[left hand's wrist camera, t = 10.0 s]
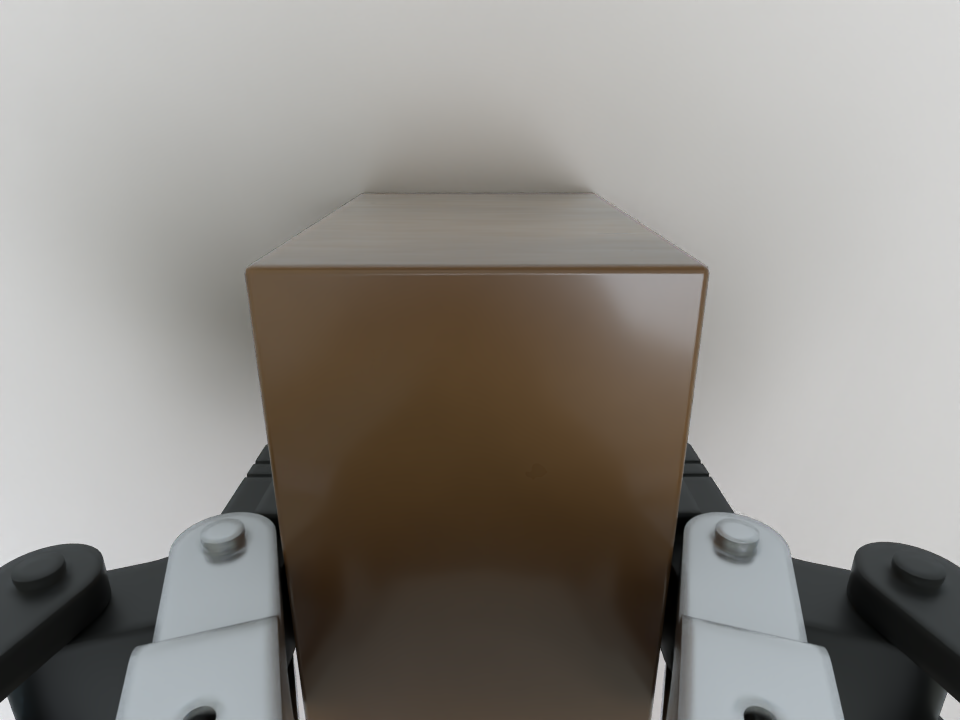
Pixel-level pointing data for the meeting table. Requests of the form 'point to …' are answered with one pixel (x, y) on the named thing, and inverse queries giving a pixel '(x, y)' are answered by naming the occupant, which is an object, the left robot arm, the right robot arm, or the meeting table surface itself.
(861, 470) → the meeting table surface
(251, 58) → the meeting table surface
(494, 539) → the beam
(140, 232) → the meeting table surface
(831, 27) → the meeting table surface
